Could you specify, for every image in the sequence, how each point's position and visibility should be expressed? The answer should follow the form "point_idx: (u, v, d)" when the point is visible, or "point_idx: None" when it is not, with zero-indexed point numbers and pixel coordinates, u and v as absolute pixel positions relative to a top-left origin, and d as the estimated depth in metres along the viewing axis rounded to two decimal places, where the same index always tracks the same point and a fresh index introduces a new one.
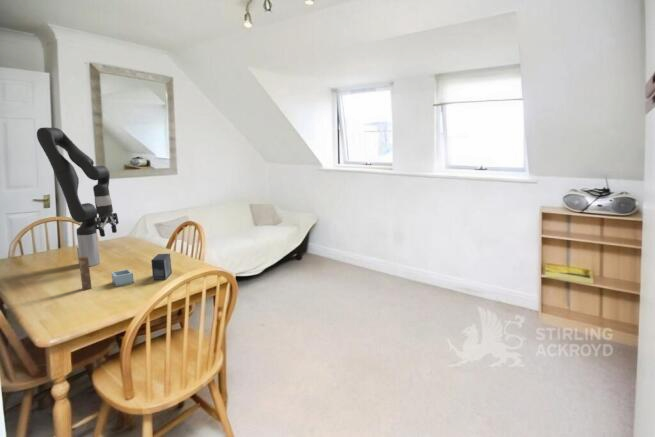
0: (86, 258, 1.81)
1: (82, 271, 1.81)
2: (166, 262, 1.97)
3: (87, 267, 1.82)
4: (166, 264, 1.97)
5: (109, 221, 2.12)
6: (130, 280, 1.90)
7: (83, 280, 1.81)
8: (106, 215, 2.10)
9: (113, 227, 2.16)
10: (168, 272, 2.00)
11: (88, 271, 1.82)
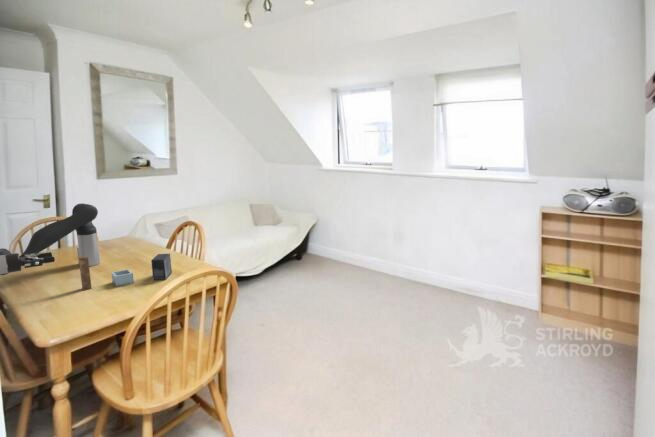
0: (86, 258, 1.81)
1: (82, 271, 1.81)
2: (166, 262, 1.97)
3: (87, 267, 1.82)
4: (166, 264, 1.97)
5: (33, 256, 1.70)
6: (130, 280, 1.90)
7: (83, 280, 1.81)
8: (23, 259, 1.66)
9: (43, 255, 1.75)
10: (168, 272, 2.00)
11: (88, 271, 1.82)
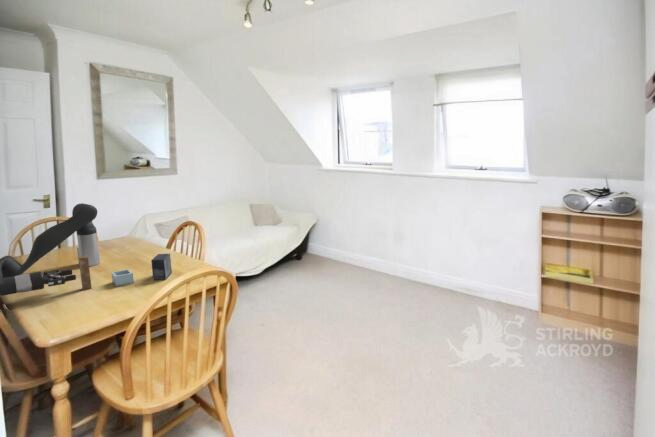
0: (86, 258, 1.81)
1: (82, 271, 1.80)
2: (166, 262, 1.97)
3: (87, 267, 1.82)
4: (166, 264, 1.97)
5: (55, 274, 1.76)
6: (130, 280, 1.90)
7: (83, 280, 1.81)
8: (45, 277, 1.72)
9: (64, 273, 1.81)
10: (168, 272, 2.00)
11: (88, 271, 1.82)
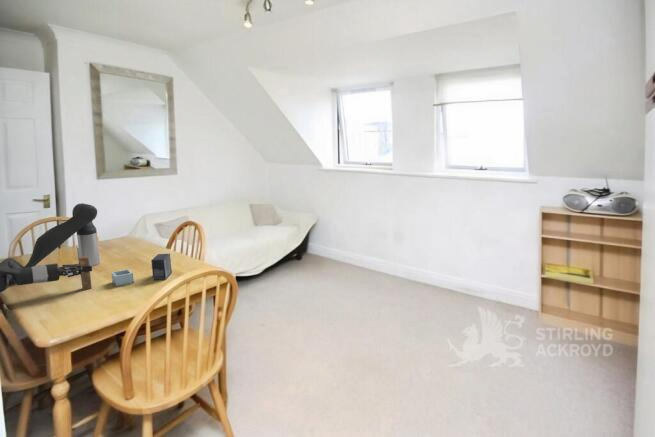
0: (86, 258, 1.80)
1: None
2: (166, 262, 1.97)
3: None
4: (166, 264, 1.97)
5: None
6: (130, 280, 1.90)
7: (83, 280, 1.81)
8: (61, 269, 1.75)
9: None
10: (168, 272, 2.00)
11: None
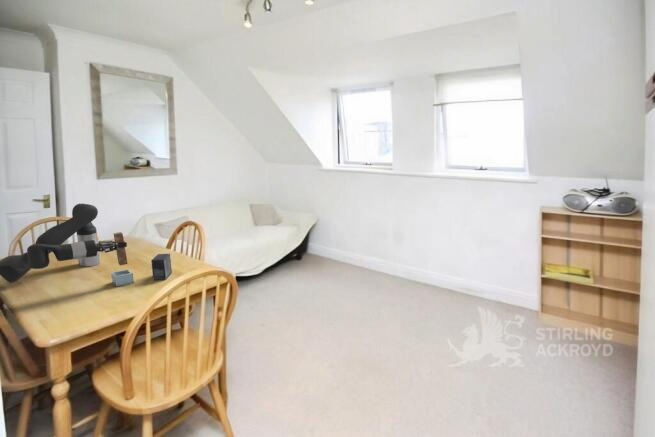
0: (121, 234, 1.86)
1: None
2: (166, 262, 1.97)
3: None
4: (166, 264, 1.97)
5: None
6: (130, 280, 1.90)
7: (120, 256, 1.87)
8: (98, 245, 1.82)
9: None
10: (168, 272, 2.00)
11: (123, 247, 1.88)
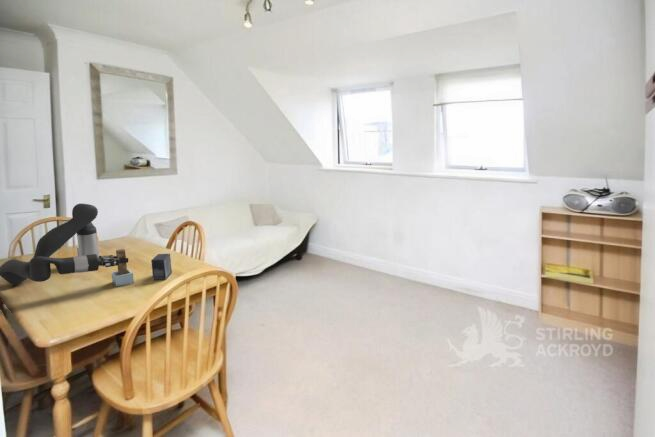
0: (123, 251, 1.88)
1: (119, 264, 1.87)
2: (166, 262, 1.97)
3: None
4: (166, 264, 1.97)
5: None
6: (130, 280, 1.90)
7: (121, 272, 1.88)
8: (100, 259, 1.83)
9: None
10: (168, 272, 2.00)
11: (125, 264, 1.89)
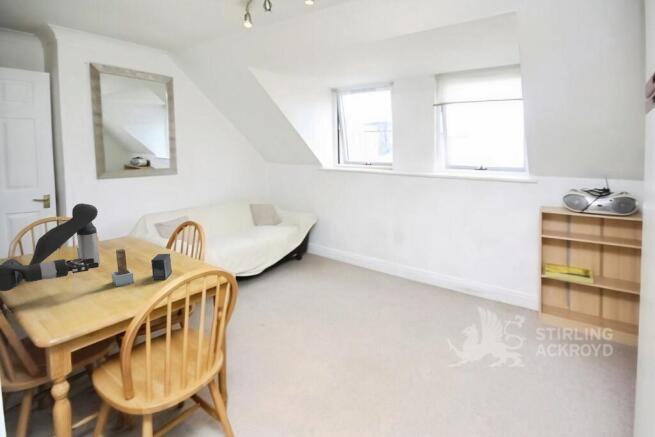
0: (123, 251, 1.88)
1: (119, 264, 1.87)
2: (166, 262, 1.97)
3: (124, 259, 1.88)
4: (166, 264, 1.97)
5: (78, 262, 1.78)
6: (130, 280, 1.90)
7: (121, 272, 1.88)
8: (69, 264, 1.75)
9: (86, 261, 1.83)
10: (168, 272, 2.00)
11: (125, 264, 1.89)
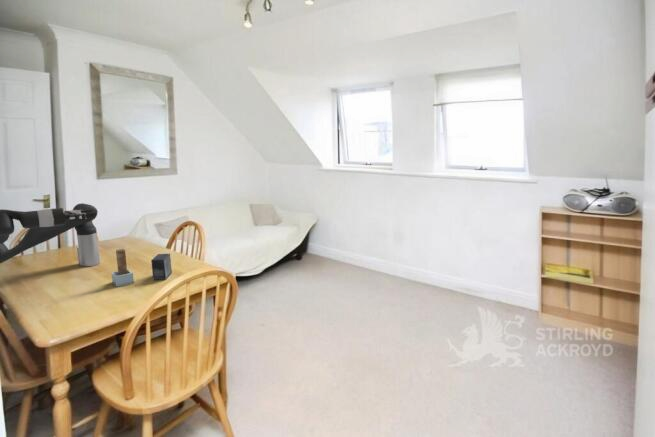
0: (123, 251, 1.88)
1: (119, 264, 1.87)
2: (166, 262, 1.97)
3: (124, 259, 1.88)
4: (166, 264, 1.97)
5: (75, 212, 1.79)
6: (130, 280, 1.90)
7: (121, 272, 1.88)
8: (66, 213, 1.76)
9: (84, 212, 1.84)
10: (168, 272, 2.00)
11: (125, 264, 1.89)
